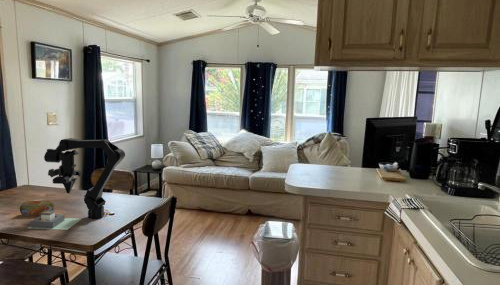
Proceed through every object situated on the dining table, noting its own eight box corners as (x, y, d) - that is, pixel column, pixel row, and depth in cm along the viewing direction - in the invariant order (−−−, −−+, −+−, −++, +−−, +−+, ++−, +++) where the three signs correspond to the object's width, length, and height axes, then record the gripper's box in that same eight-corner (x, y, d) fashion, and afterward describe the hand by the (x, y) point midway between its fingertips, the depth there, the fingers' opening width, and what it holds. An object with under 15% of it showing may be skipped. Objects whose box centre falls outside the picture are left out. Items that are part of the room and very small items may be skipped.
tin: (19, 217, 159) (19, 201, 158) (22, 215, 162) (21, 199, 161) (53, 216, 163) (53, 200, 162) (55, 214, 166) (55, 198, 165)
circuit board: (81, 220, 160) (81, 218, 160) (67, 231, 146) (67, 229, 146) (45, 218, 159) (45, 217, 159) (27, 229, 145) (27, 228, 145)
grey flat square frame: (64, 220, 157) (64, 214, 156) (53, 228, 147) (52, 221, 146) (43, 219, 156) (43, 213, 156) (30, 227, 146) (30, 220, 146)
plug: (54, 222, 154) (54, 210, 153) (50, 225, 150) (49, 212, 149) (46, 222, 153) (46, 209, 153) (41, 225, 149) (41, 212, 149)
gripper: (60, 159, 168) (61, 187, 170) (40, 166, 150) (41, 198, 152) (82, 160, 169) (82, 188, 171) (65, 167, 151) (65, 198, 153)
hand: (68, 193), depth 162 cm, fingers closed
